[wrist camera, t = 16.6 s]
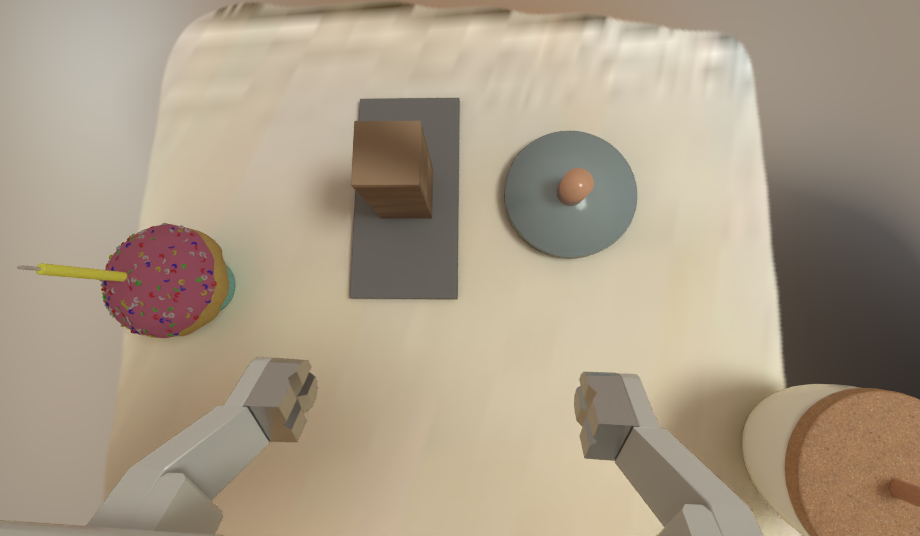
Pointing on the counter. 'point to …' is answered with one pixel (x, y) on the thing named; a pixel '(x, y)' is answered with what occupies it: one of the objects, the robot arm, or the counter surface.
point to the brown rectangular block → (393, 168)
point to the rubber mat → (412, 239)
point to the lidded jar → (838, 459)
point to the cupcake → (160, 281)
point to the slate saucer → (570, 220)
